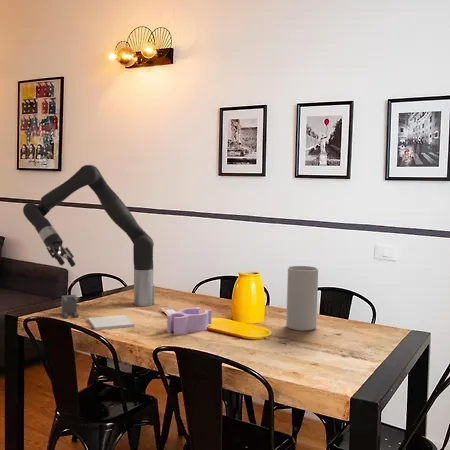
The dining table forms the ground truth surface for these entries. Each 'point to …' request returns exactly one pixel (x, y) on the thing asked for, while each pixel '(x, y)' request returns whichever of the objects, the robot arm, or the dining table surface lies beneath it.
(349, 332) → the dining table surface
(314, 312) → the cylinder vase
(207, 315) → the clip
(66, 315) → the charcoal stool
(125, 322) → the grey mat
